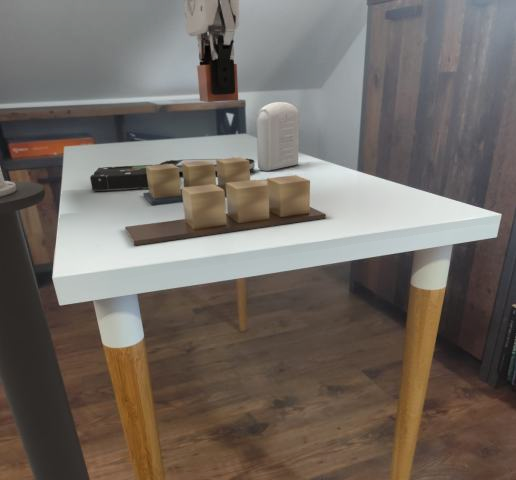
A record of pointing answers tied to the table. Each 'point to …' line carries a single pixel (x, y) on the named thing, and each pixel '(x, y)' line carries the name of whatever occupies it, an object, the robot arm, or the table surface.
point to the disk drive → (120, 178)
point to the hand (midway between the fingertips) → (218, 92)
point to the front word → (233, 209)
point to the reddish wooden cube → (206, 88)
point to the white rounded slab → (277, 136)
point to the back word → (193, 177)
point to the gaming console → (179, 162)
